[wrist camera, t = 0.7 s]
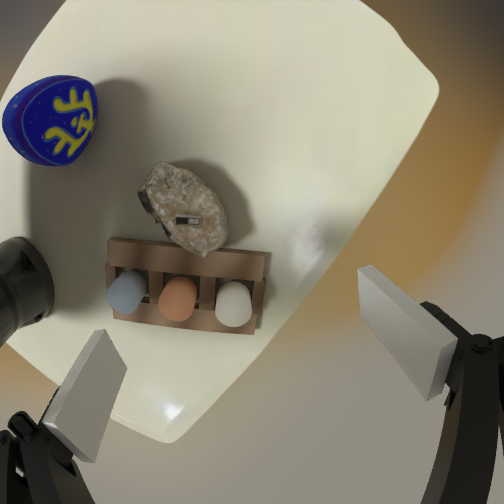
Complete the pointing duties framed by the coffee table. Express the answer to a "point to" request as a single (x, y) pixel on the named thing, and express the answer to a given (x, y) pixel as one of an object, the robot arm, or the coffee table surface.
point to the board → (184, 262)
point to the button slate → (126, 292)
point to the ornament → (51, 119)
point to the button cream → (233, 304)
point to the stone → (185, 208)
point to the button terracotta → (178, 299)
